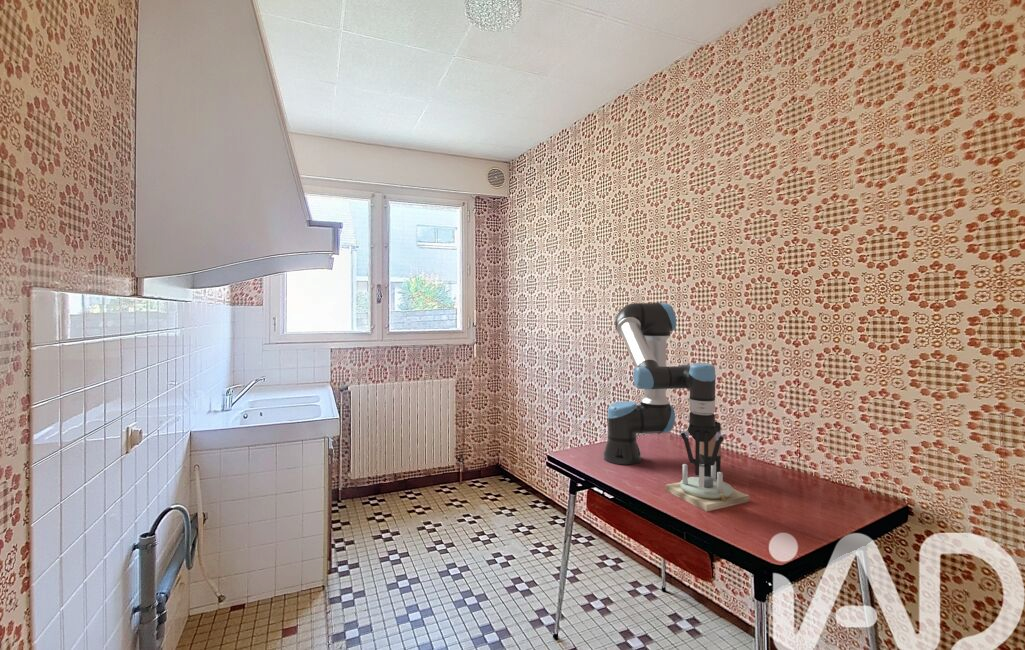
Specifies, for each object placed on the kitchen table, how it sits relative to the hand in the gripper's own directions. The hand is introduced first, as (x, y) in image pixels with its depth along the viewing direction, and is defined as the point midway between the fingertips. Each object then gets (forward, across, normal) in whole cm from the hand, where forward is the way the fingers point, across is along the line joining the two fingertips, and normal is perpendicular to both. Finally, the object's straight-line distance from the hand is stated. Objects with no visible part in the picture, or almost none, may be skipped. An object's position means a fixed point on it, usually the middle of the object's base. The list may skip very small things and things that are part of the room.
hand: (701, 485), depth 146 cm
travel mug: (+6, +3, +26) cm, 27 cm away
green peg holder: (+3, +1, +6) cm, 7 cm away
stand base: (+6, +1, +6) cm, 8 cm away
